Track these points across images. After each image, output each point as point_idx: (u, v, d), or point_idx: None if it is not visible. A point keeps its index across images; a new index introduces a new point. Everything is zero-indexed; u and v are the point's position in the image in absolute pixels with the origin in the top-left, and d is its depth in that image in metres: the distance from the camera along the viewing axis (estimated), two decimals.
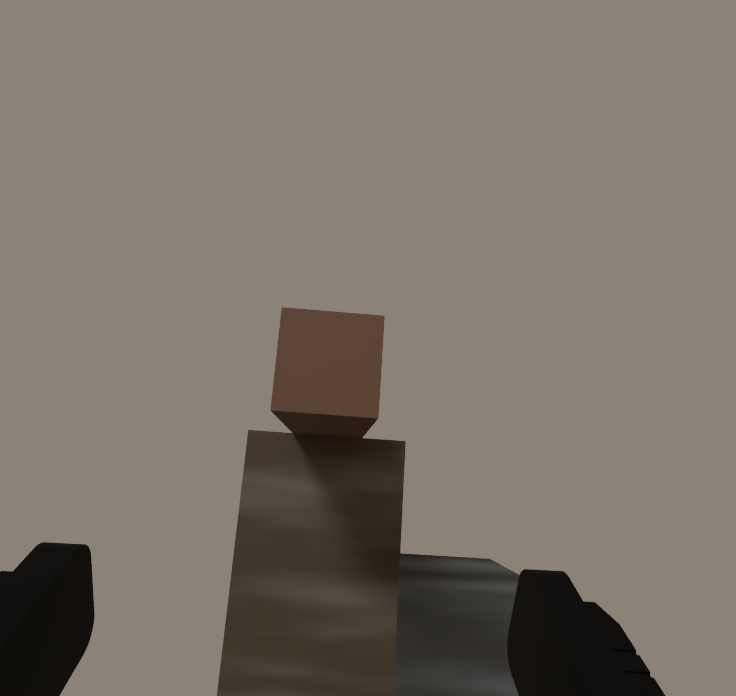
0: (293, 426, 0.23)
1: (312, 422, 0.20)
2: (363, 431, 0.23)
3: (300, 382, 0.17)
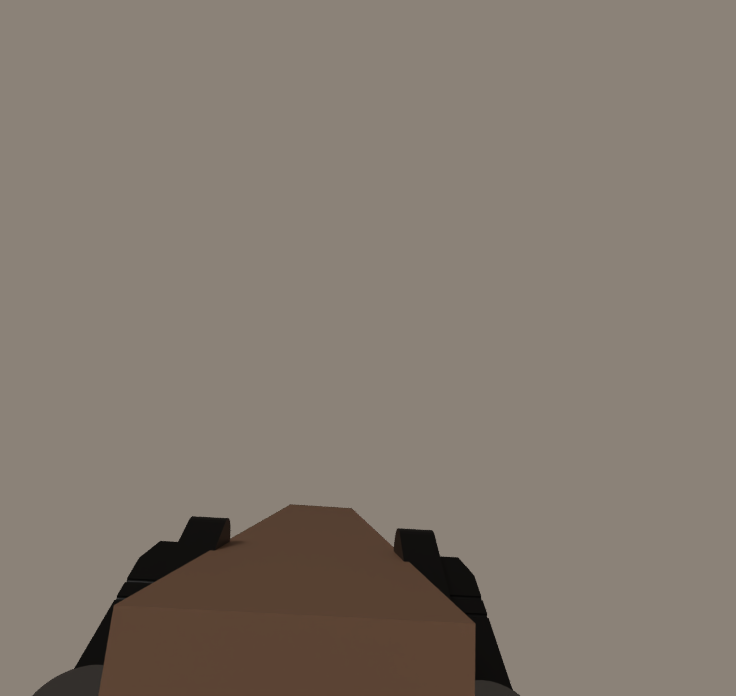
0: None
1: None
2: None
3: None
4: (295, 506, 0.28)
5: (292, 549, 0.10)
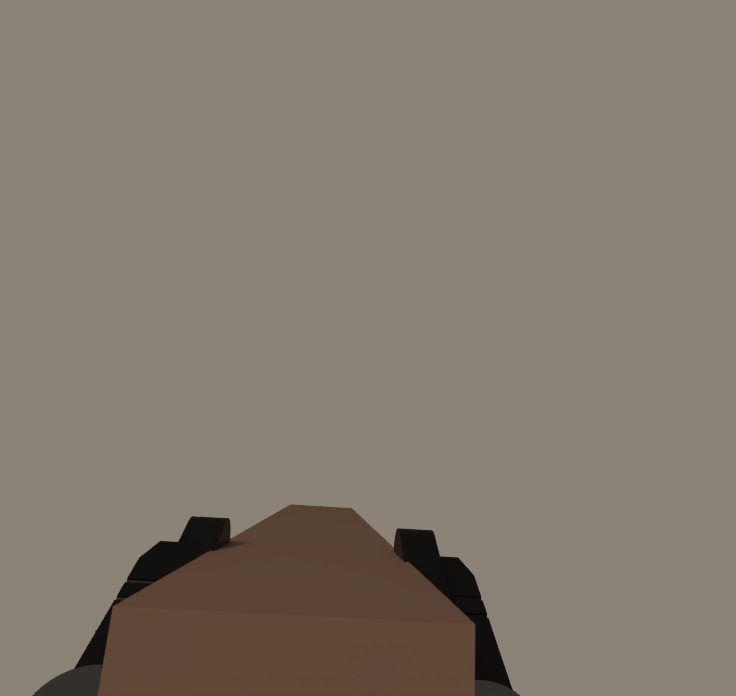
0: None
1: None
2: None
3: None
4: (295, 506, 0.28)
5: (292, 549, 0.10)
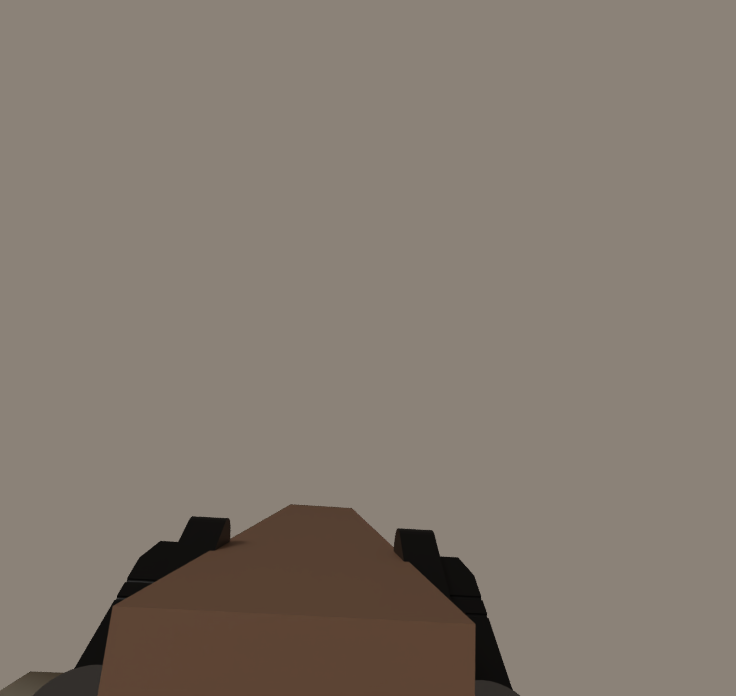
0: None
1: None
2: None
3: None
4: (295, 506, 0.28)
5: (292, 549, 0.10)
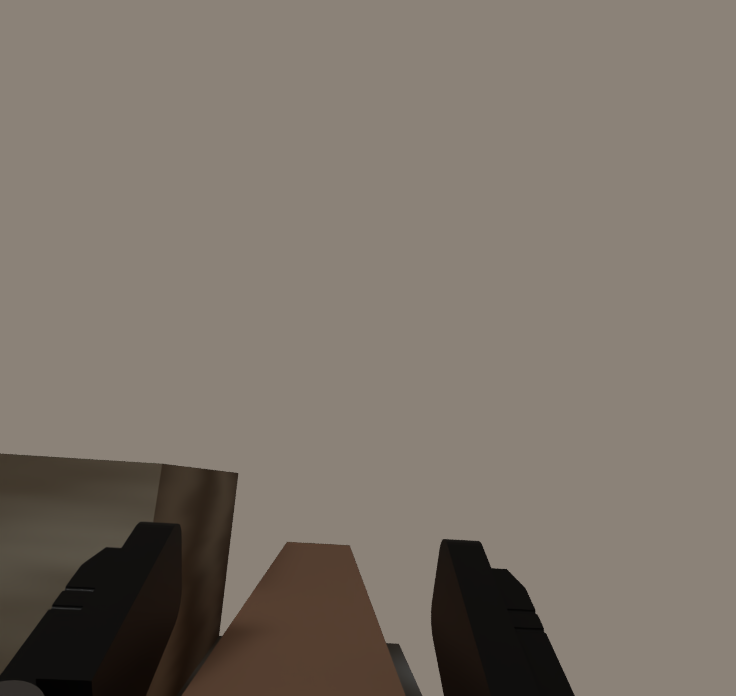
0: None
1: None
2: None
3: None
4: (291, 546, 0.27)
5: (279, 671, 0.09)
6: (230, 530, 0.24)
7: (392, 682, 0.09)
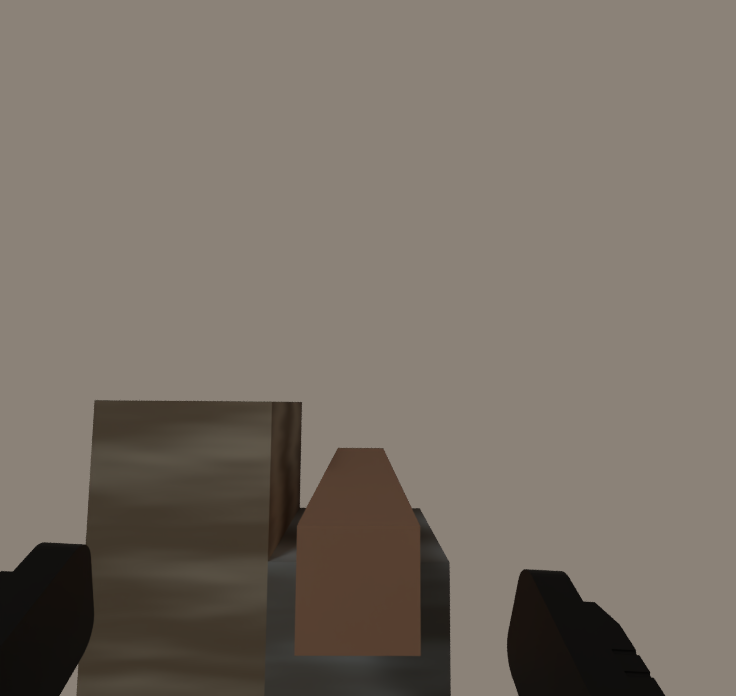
0: None
1: None
2: None
3: (326, 618, 0.15)
4: (342, 450, 0.39)
5: (349, 494, 0.20)
6: (300, 440, 0.35)
7: (402, 496, 0.20)
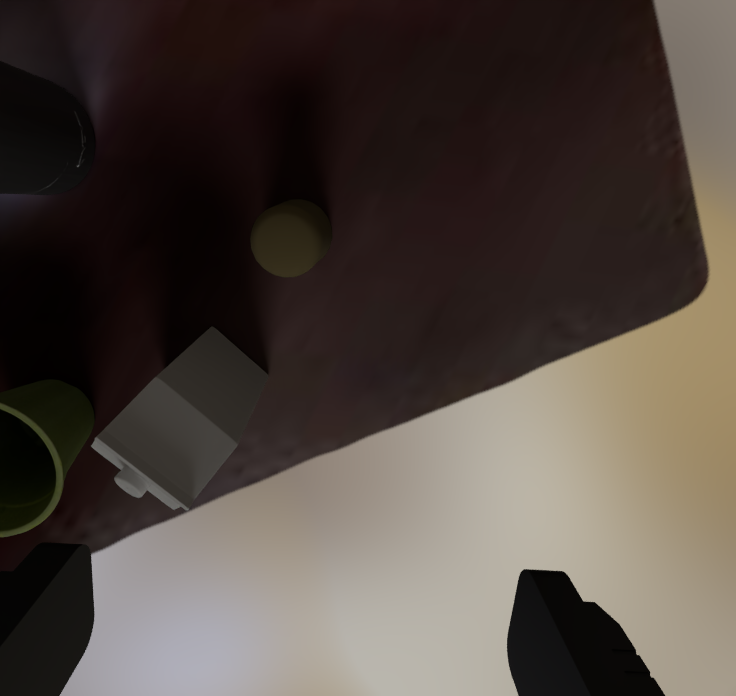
0: None
1: None
2: None
3: None
4: None
5: None
6: None
7: None
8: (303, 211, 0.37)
